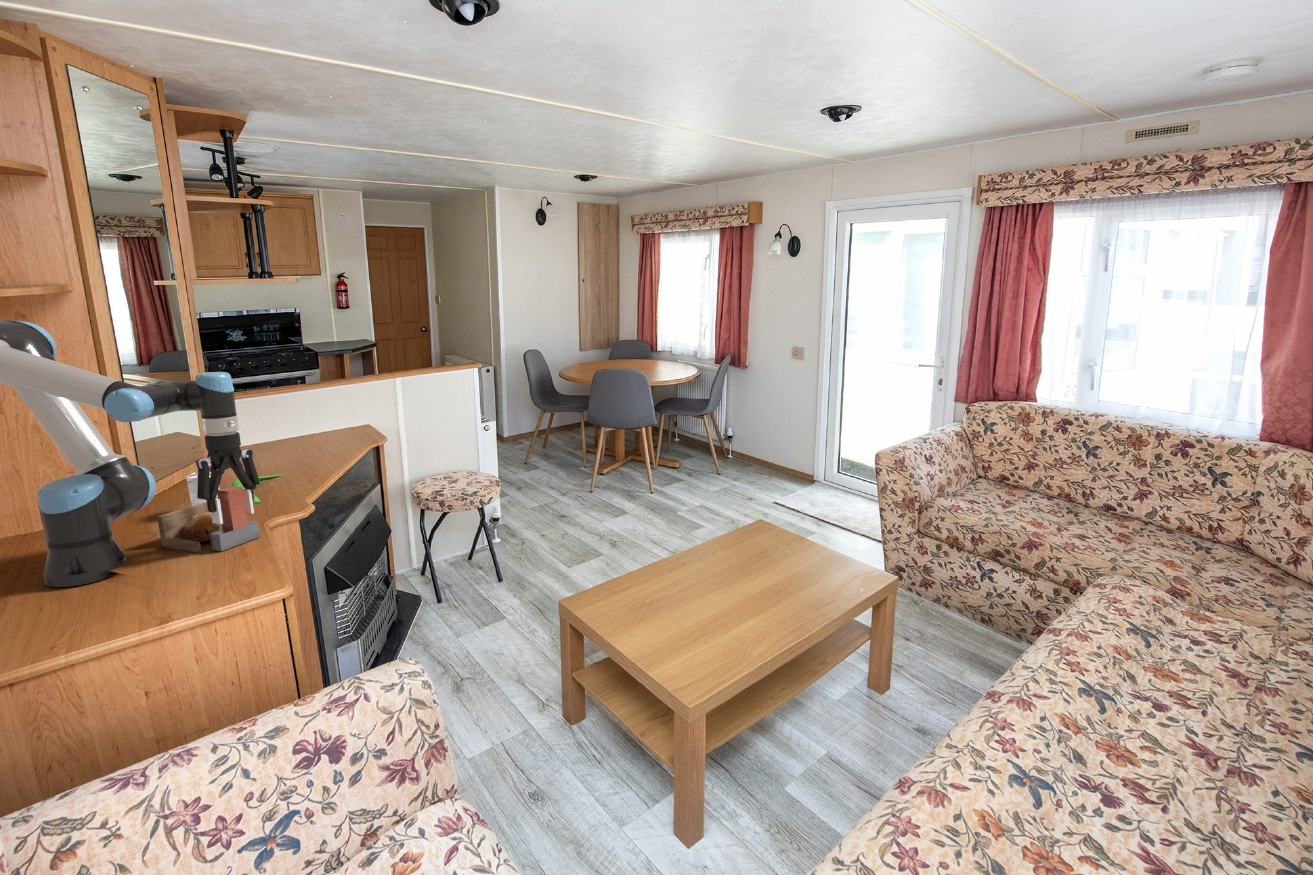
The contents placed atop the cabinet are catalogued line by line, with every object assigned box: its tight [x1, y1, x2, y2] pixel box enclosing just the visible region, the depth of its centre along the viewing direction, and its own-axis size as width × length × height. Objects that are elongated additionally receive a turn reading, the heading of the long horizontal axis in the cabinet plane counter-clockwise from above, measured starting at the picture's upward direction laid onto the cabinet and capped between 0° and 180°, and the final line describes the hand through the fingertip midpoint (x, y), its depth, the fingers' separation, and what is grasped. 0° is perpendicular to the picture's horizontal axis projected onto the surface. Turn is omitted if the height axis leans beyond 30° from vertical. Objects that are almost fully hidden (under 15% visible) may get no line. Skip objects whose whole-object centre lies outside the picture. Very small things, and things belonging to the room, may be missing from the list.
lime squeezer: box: [231, 474, 284, 505], centre depth 216 cm, size 34×12×6 cm, turn 16°
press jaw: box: [209, 485, 261, 552], centre depth 167 cm, size 11×4×15 cm, turn 161°
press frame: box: [156, 502, 211, 553], centre depth 172 cm, size 15×14×8 cm
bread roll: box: [184, 512, 222, 543], centre depth 172 cm, size 10×10×8 cm
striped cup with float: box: [184, 471, 221, 506], centre depth 194 cm, size 10×8×12 cm
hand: (233, 517), depth 167 cm, fingers open, 8 cm apart
